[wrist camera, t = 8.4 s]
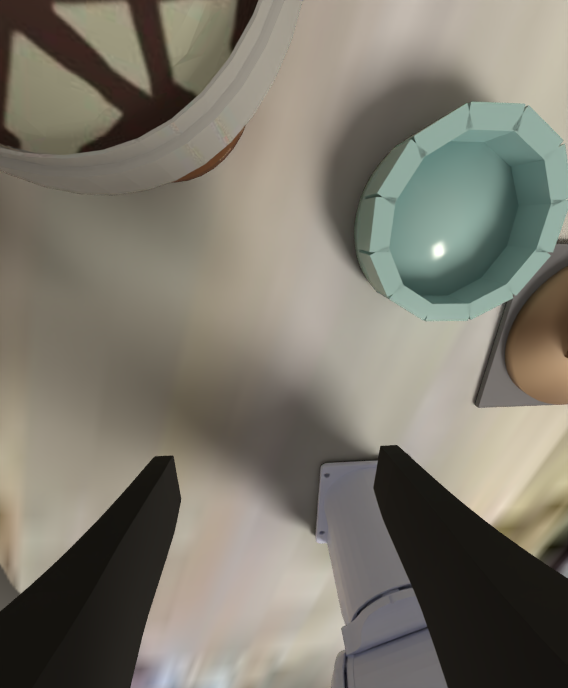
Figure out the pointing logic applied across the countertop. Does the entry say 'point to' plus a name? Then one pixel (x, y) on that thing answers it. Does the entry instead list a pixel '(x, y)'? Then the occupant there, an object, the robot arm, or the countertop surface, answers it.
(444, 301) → the bowl
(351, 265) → the countertop surface
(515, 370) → the lid
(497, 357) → the mat
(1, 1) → the food container
